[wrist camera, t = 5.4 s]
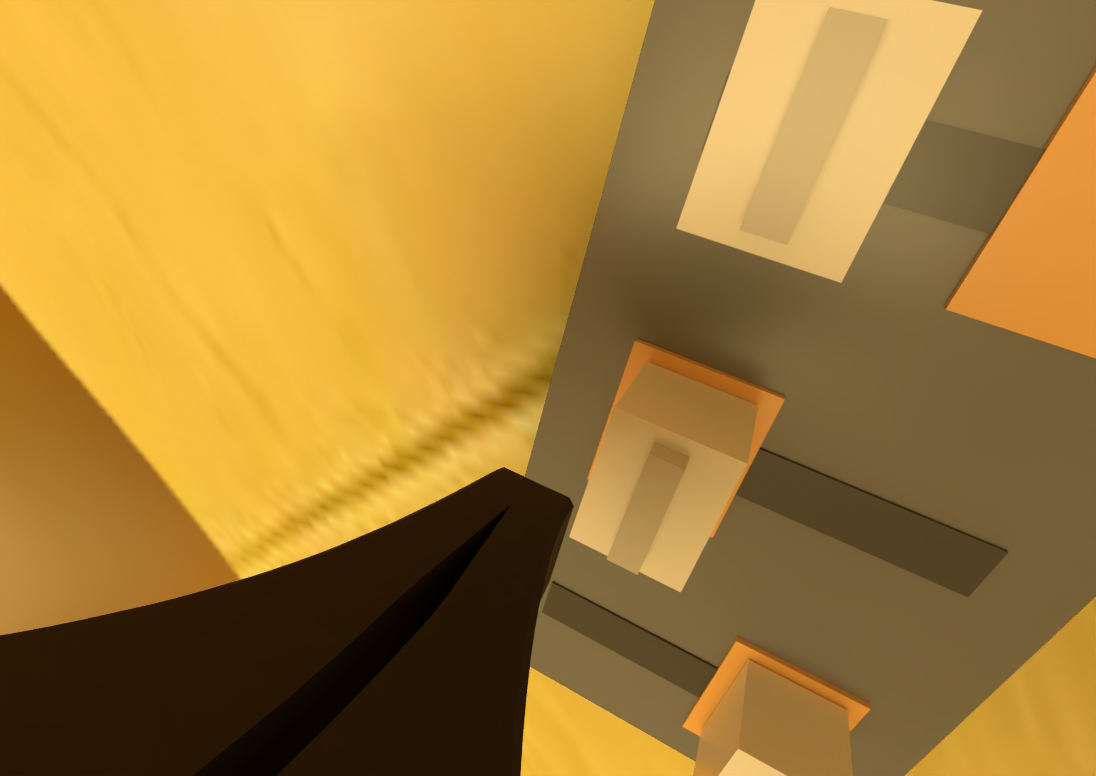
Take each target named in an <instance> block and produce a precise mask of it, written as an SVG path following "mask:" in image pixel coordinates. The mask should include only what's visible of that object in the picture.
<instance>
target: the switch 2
mask: <svg viewBox="0 0 1096 776" xmlns="http://www.w3.org/2000/svg"><path fill="white" fill-rule="evenodd" d="M982 11H983V10H978V9H973V8H968V7H963V6H958V5H953V4H948V3H943V2H938V1H933V0H755V3H754V6H753V9H752V12H751V14H750V17H749V20H748V23H747V26H746V29H745V32H744V35H743V38H742V40H741V43H740V46H739V49H738V52H737V55H736V58H735V61H734V63H733V66H732V69H731V72H730V75H729V78H728V81H727V84H726V86H725V89H724V92H723V95H722V98H721V101H720V104H719V107H718V110H717V112H716V115H715V118H714V121H713V124H712V127H711V130H710V133H709V135H708V138H707V141H706V144H705V147H704V150H703V153H702V156H701V158H700V161H699V164H698V167H697V170H696V173H695V176H694V179H693V182H692V184H691V187H690V190H689V193H688V196H687V199H686V202H685V205H684V207H683V210H682V213H681V216H680V219H679V222H678V225H677V228H676V229H679V230H682V231H685V232H688V233H691V234H694V235H697V236H700V237H703V238H706V239H709V240H712V241H715V242H719V243H722V244H725V245H728V246H731V247H734V248H737V249H740V250H743V251H746V252H749V253H752V254H755V255H758V256H761V257H764V258H767V259H770V260H773V261H776V262H779V263H782V264H785V265H788V266H791V267H794V268H797V269H800V270H803V271H806V272H809V273H812V274H815V275H819V276H822V277H825V278H828V279H831V280H834V281H837V282H840V283H842V281H843V279H844V277H845V275H846V273H847V271H848V269H849V267H850V265H851V263H852V261H853V259H854V257H855V256H856V254H857V252H858V250H859V248H860V246H861V244H862V242H863V240H864V238H865V236H866V234H867V232H868V230H869V229H870V227H871V225H872V223H873V221H874V219H875V217H876V215H877V213H878V211H879V209H880V207H881V205H882V203H883V202H884V200H885V198H886V196H887V194H888V192H889V190H890V188H891V186H892V184H893V182H894V180H895V178H896V176H897V175H898V173H899V171H900V169H901V167H902V165H903V163H904V161H905V159H906V157H907V155H908V153H909V151H910V149H911V148H912V146H913V144H914V142H915V140H916V138H917V136H918V134H919V132H920V130H921V128H922V126H923V124H924V122H925V120H926V119H927V117H928V115H929V113H930V111H931V109H932V107H933V105H934V103H935V101H936V99H937V97H938V95H939V93H940V92H941V90H942V88H943V86H944V84H945V82H946V80H947V78H948V76H949V74H950V72H951V70H952V68H953V66H954V65H955V63H956V61H957V59H958V57H959V55H960V53H961V51H962V49H963V47H964V45H965V43H966V41H967V39H968V38H969V36H970V34H971V32H972V30H973V28H974V26H975V24H976V22H977V20H978V18H979V16H980V14H981V12H982Z"/></svg>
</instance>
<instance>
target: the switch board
mask: <svg viewBox="0 0 1096 776" xmlns="http://www.w3.org/2000/svg"><path fill="white" fill-rule="evenodd" d="M933 1H938V2H943V3H948V4H953V5H958V6H963V7H968V8H973V9H978V10H983V11H982V12H981V14H980V16H979V18H978V20H977V22H976V24H975V26H974V28H973V30H972V32H971V34H970V36H969V38H968V39H967V41H966V43H965V45H964V47H963V49H962V51H961V53H960V55H959V57H958V59H957V61H956V63H955V65H954V66H953V68H952V70H951V72H950V74H949V76H948V78H947V80H946V82H945V84H944V86H943V88H942V90H941V92H940V93H939V95H938V97H937V99H936V101H935V103H934V105H933V107H932V109H931V111H930V113H929V115H928V117H927V119H926V120H925V122H924V124H923V126H922V128H921V130H920V132H919V134H918V136H917V138H916V140H915V142H914V144H913V146H912V148H911V149H910V151H909V153H908V155H907V157H906V159H905V161H904V163H903V165H902V167H901V169H900V171H899V173H898V175H897V176H896V178H895V180H894V182H893V184H892V186H891V188H890V190H889V192H888V194H887V196H886V198H885V200H884V202H883V203H882V205H881V207H880V209H879V211H878V213H877V215H876V217H875V219H874V221H873V223H872V225H871V227H870V229H869V230H868V232H867V234H866V236H865V238H864V240H863V242H862V244H861V246H860V248H859V250H858V252H857V254H856V256H855V257H854V259H853V261H852V263H851V265H850V267H849V269H848V271H847V273H846V275H845V277H844V279H843V281H842V283H840V282H837V281H834V280H831V279H828V278H825V277H822V276H819V275H815V274H812V273H809V272H806V271H803V270H800V269H797V268H794V267H791V266H788V265H785V264H782V263H779V262H776V261H773V260H770V259H767V258H764V257H761V256H758V255H755V254H752V253H749V252H746V251H743V250H740V249H737V248H734V247H731V246H728V245H725V244H722V243H719V242H715V241H712V240H709V239H706V238H703V237H700V236H697V235H694V234H691V233H688V232H685V231H682V230H679V229H676V228H677V225H678V222H679V219H680V216H681V213H682V210H683V207H684V205H685V202H686V199H687V196H688V193H689V190H690V187H691V184H692V182H693V179H694V176H695V173H696V170H697V167H698V164H699V161H700V158H701V156H702V153H703V150H704V147H705V144H706V141H707V138H708V135H709V133H710V130H711V127H712V124H713V121H714V118H715V115H716V112H717V110H718V107H719V104H720V101H721V98H722V95H723V92H724V89H725V86H726V84H727V81H728V78H729V75H730V72H731V69H732V66H733V63H734V61H735V58H736V55H737V52H738V49H739V46H740V43H741V40H742V38H743V35H744V32H745V29H746V26H747V23H748V20H749V17H750V14H751V12H752V9H753V6H754V3H755V0H655V2H654V6H653V9H652V13H651V17H650V20H649V24H648V28H647V31H646V35H645V39H644V42H643V46H642V50H641V53H640V57H639V61H638V64H637V68H636V72H635V75H634V79H633V83H632V86H631V90H630V93H629V97H628V101H627V104H626V108H625V112H624V115H623V119H622V123H621V126H620V130H619V134H618V137H617V141H616V145H615V148H614V152H613V156H612V159H611V163H610V167H609V170H608V174H607V178H606V181H605V185H604V189H603V192H602V196H601V200H600V203H599V207H598V211H597V214H596V218H595V222H594V225H593V229H592V233H591V236H590V240H589V244H588V247H587V251H586V255H585V258H584V262H583V266H582V269H581V273H580V277H579V280H578V284H577V288H576V291H575V295H574V299H573V302H572V306H571V309H570V313H569V317H568V320H567V324H566V328H565V331H564V335H563V339H562V342H561V346H560V350H559V353H558V357H557V361H556V364H555V368H554V372H553V375H552V379H551V383H550V386H549V390H548V394H547V397H546V401H545V405H544V408H543V412H542V416H541V419H540V423H539V427H538V430H537V434H536V438H535V441H534V445H533V449H532V452H531V456H530V460H529V463H528V467H527V471H526V474H525V477H526V478H528V479H530V480H533V481H535V482H537V483H539V484H541V485H543V486H546V487H548V488H550V489H552V490H554V491H556V492H559V493H561V494H563V495H565V496H567V497H569V498H570V499H571V501H572V503H573V505H574V507H573V511H572V514H571V517H570V520H569V523H568V526H567V529H566V532H565V535H564V538H563V542H562V545H561V548H560V551H559V554H558V557H557V560H556V563H555V566H554V569H553V572H552V576H551V579H550V582H549V584H548V586H547V588H546V590H545V592H544V595H543V597H542V599H541V601H540V605H539V610H538V616H537V621H536V627H535V633H534V640H533V647H532V654H531V661H530V667H532V668H534V669H535V670H537V671H539V672H541V673H542V674H544V675H546V676H548V677H549V678H551V679H553V680H555V681H556V682H558V683H560V684H562V685H563V686H565V687H567V688H568V689H570V690H572V691H574V692H575V693H577V694H579V695H581V696H582V697H584V698H586V699H588V700H589V701H591V702H593V703H595V704H596V705H598V706H600V707H602V708H603V709H605V710H607V711H609V712H610V713H612V714H614V715H616V716H617V717H619V718H621V719H623V720H624V721H626V722H628V723H629V724H631V725H633V726H635V727H636V728H638V729H640V730H642V731H643V732H645V733H647V734H649V735H650V736H652V737H654V738H656V739H657V740H659V741H661V742H663V743H664V744H666V745H668V746H670V747H671V748H673V749H675V750H677V751H678V752H680V753H682V754H684V755H685V756H687V757H689V758H690V759H692V760H694V761H696V757H697V752H698V746H699V741H700V735H701V730H702V728H703V727H704V725H705V724H706V722H707V721H708V719H709V718H710V716H711V715H712V713H713V712H714V710H715V709H716V707H717V706H718V704H719V703H720V701H721V700H722V698H723V697H724V695H725V694H726V692H727V691H728V689H729V688H730V686H731V685H732V683H733V682H734V680H735V679H736V677H737V676H738V674H739V673H740V671H741V670H742V668H743V667H744V665H745V664H746V662H747V661H748V659H749V660H751V661H753V662H755V663H757V664H759V665H761V666H763V667H765V668H766V669H768V670H770V671H772V672H774V673H776V674H778V675H780V676H782V677H784V678H786V679H788V680H790V681H792V682H794V683H796V684H798V685H800V686H801V687H803V688H805V689H807V690H809V691H811V692H813V693H815V694H817V695H819V696H821V697H823V698H825V699H827V700H829V701H831V702H833V703H835V704H837V705H838V706H840V707H842V708H844V709H846V710H848V718H849V732H850V746H851V760H852V774H853V776H905V775H906V774H907V773H908V772H909V771H910V770H911V769H912V768H913V767H914V766H915V765H916V764H917V763H918V762H920V761H921V760H922V759H923V758H924V757H925V756H926V755H927V754H928V753H929V752H930V751H931V750H932V749H933V748H934V747H936V746H937V745H938V744H939V743H940V742H941V741H942V740H943V739H944V738H945V737H946V736H947V735H948V734H949V733H950V732H952V731H953V730H954V729H955V728H956V727H957V726H958V725H959V724H960V723H961V722H962V721H963V720H964V719H965V718H966V717H968V716H969V715H970V714H971V713H972V712H973V711H974V710H975V709H976V708H977V707H978V706H979V705H980V704H981V703H982V702H984V701H985V700H986V699H987V698H988V697H989V696H990V695H991V694H992V693H993V692H994V691H995V690H996V689H997V688H998V687H1000V686H1001V685H1002V684H1003V683H1004V682H1005V681H1006V680H1007V679H1008V678H1009V677H1010V676H1011V675H1012V674H1013V673H1014V672H1016V671H1017V670H1018V669H1019V668H1020V667H1021V666H1022V665H1023V664H1024V663H1025V662H1026V661H1027V660H1028V659H1029V658H1030V657H1032V656H1033V655H1034V654H1035V653H1036V652H1037V651H1038V650H1039V649H1040V648H1041V647H1042V646H1043V645H1044V644H1045V643H1046V642H1048V641H1049V640H1050V639H1051V638H1052V637H1053V636H1054V635H1055V634H1056V633H1057V632H1058V631H1059V630H1060V629H1061V628H1062V627H1064V626H1065V625H1066V624H1067V623H1068V622H1069V621H1070V620H1071V619H1072V618H1073V617H1074V616H1075V615H1076V614H1077V613H1078V612H1080V611H1081V610H1082V609H1083V608H1084V607H1085V606H1086V605H1087V604H1088V603H1089V602H1090V601H1091V600H1092V599H1093V598H1094V597H1096V0H933ZM647 362H650V363H652V364H655V365H657V366H660V367H662V368H665V369H667V370H670V371H672V372H675V373H677V374H680V375H682V376H685V377H687V378H690V379H692V380H695V381H697V382H700V383H703V384H705V385H708V386H710V387H713V388H715V389H718V390H720V391H723V392H725V393H728V394H730V395H733V396H735V397H738V398H740V399H743V400H745V401H748V402H750V403H753V404H755V405H758V410H757V416H756V421H755V426H754V432H753V437H752V442H751V448H750V453H749V458H748V464H747V466H746V468H745V470H744V472H743V473H742V475H741V477H740V479H739V481H738V483H737V485H736V487H735V489H734V491H733V493H732V495H731V497H730V499H729V500H728V502H727V504H726V506H725V508H724V510H723V512H722V514H721V516H720V518H719V520H718V522H717V524H716V526H715V527H714V529H713V531H712V533H711V535H710V537H709V539H708V541H707V543H706V545H705V547H704V549H703V551H702V553H701V554H700V556H699V558H698V560H697V562H696V564H695V566H694V568H693V570H692V572H691V574H690V576H689V578H688V580H687V581H686V583H685V585H684V587H683V589H682V591H681V592H679V591H677V590H675V589H673V588H671V587H669V586H667V585H665V584H663V583H661V582H659V581H657V580H655V579H653V578H651V577H649V576H647V575H645V574H643V573H641V572H639V573H638V575H637V574H635V573H633V572H631V571H629V570H627V569H625V568H623V567H621V566H619V565H617V564H615V563H613V562H611V561H609V560H607V557H608V556H606V555H604V554H602V553H600V552H598V551H596V550H594V549H592V548H590V547H588V546H586V545H584V544H582V543H580V542H578V541H576V540H574V539H572V538H570V537H569V536H570V533H571V530H572V527H573V524H574V521H575V519H576V516H577V513H578V510H579V507H580V504H581V501H582V498H583V495H584V493H585V490H586V487H587V484H588V481H589V478H590V475H591V472H592V470H593V467H594V464H595V461H596V458H597V455H598V452H599V449H600V447H601V444H602V441H603V438H604V435H605V432H606V429H607V426H608V423H609V421H610V418H611V415H612V412H613V409H614V407H615V405H616V404H617V403H618V401H619V400H620V398H621V397H622V396H623V394H624V393H625V392H626V390H627V389H628V387H629V386H630V385H631V383H632V382H633V380H634V379H635V378H636V376H637V375H638V374H639V372H640V371H641V369H642V368H643V367H644V365H645V364H646V363H647Z"/></svg>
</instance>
